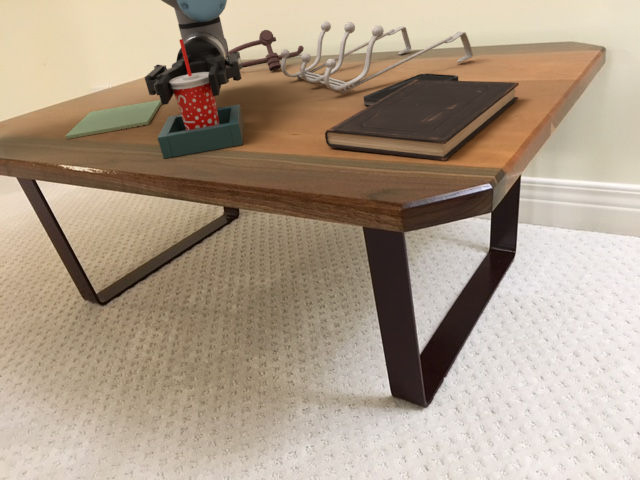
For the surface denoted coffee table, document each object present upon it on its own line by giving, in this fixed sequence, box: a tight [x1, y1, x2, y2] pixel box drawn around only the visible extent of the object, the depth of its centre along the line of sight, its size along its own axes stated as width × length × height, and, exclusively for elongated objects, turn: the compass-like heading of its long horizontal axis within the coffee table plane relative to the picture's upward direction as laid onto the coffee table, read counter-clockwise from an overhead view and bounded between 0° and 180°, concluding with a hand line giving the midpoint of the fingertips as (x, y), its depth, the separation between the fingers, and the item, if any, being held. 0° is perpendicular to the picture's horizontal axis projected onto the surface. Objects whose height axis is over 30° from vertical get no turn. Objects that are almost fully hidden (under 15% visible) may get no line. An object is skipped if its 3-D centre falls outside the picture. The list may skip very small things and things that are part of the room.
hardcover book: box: [324, 80, 520, 162], centre depth 70 cm, size 16×23×2 cm
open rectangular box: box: [157, 103, 245, 160], centre depth 78 cm, size 11×11×3 cm
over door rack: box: [280, 20, 474, 94], centre depth 99 cm, size 22×29×10 cm
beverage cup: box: [169, 38, 220, 130], centre depth 75 cm, size 6×6×14 cm
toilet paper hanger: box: [226, 29, 305, 72], centre depth 122 cm, size 22×8×14 cm
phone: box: [363, 73, 459, 107], centre depth 84 cm, size 8×1×15 cm
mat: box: [64, 99, 162, 140], centre depth 98 cm, size 14×16×1 cm
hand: (187, 89), depth 70 cm, fingers closed on beverage cup, 6 cm apart
